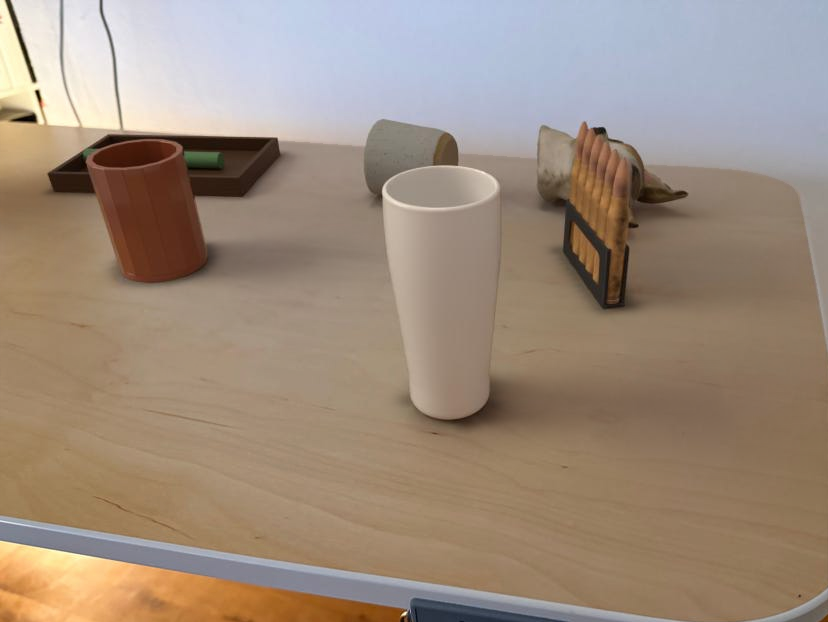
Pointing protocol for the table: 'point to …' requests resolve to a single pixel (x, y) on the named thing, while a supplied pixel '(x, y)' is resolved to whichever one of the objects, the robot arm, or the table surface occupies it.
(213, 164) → the straw
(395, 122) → the ceramic mug
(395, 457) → the table surface
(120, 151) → the tumbler
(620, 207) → the ammunition clip
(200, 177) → the tray
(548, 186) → the ceramic sculpture
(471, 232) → the drinking glass
